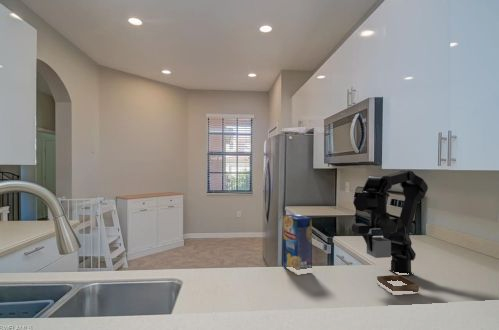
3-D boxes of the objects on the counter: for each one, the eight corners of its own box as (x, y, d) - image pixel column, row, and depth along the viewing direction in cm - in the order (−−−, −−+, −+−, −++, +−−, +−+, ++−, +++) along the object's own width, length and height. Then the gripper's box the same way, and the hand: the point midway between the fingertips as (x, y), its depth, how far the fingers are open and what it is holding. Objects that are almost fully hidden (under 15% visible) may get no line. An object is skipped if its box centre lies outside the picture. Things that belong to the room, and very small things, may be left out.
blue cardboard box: (297, 264, 125) (296, 214, 126) (312, 273, 115) (311, 218, 116) (283, 267, 123) (283, 215, 123) (297, 275, 113) (297, 219, 113)
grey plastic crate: (381, 252, 111) (380, 236, 111) (391, 257, 105) (390, 240, 105) (366, 253, 110) (366, 237, 110) (375, 257, 104) (375, 241, 105)
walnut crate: (400, 282, 105) (400, 274, 105) (418, 293, 96) (418, 284, 96) (377, 284, 104) (377, 276, 104) (393, 295, 95) (393, 286, 95)
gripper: (367, 213, 99) (367, 258, 98) (416, 211, 102) (416, 256, 101) (350, 208, 110) (351, 249, 109) (395, 207, 113) (395, 247, 112)
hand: (378, 250), depth 108 cm, fingers closed on grey plastic crate, 6 cm apart
